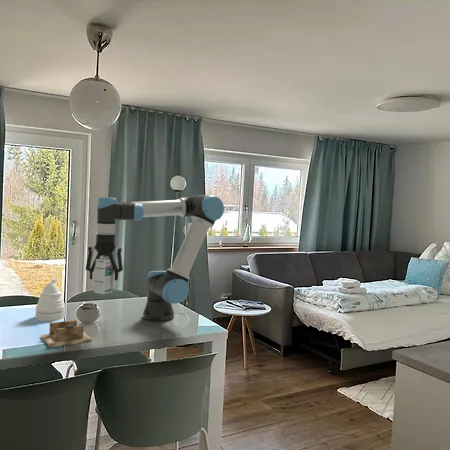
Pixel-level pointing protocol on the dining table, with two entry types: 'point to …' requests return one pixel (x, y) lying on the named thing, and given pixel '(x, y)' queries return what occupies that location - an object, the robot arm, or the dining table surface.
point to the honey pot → (50, 303)
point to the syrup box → (103, 276)
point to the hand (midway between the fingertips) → (103, 287)
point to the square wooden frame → (65, 334)
